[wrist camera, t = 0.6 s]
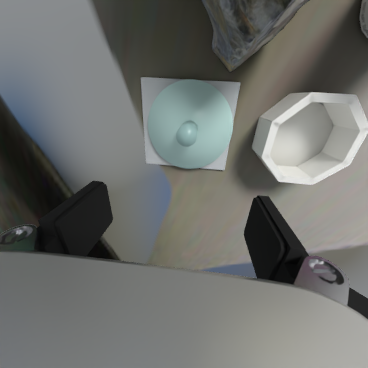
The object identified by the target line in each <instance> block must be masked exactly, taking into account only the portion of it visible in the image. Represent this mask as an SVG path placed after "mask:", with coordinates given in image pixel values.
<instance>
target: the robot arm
mask: <svg viewBox="0 0 368 368" xmlns="http://www.w3.org/2000/svg"><path fill="white" fill-rule="evenodd" d="M112 220H113V217H112V212H111V206H110V201H109V196H108V191H107V186H106V184H104V183H103V182H99V181H92V182H91V183H89V184H88V185H87V186H85V187H84V188H83V189H81V190H80V191H78V192H77V193H76V194H74V195H73V196H71V197H70V198H69V199H67V200H66V201H64V202H63V203H62V204H60V205H59V206H57V207H56V208H55V209H53V210H52V211H51V212H49V213H48V214H46V215H45V216H44V217H42V218H41V219H39V220H38V222H39V224H40V226H39V227H38V228H37V227H36V226H35V225H31V224H26V225H20V226H17V227H14V228H11V229H9V230H7V231H5V232H3V233H2V234H0V368H368V298H366V297H364V296H363V295H361V294H359V293H358V292H356V291H355V290H353V289H351V288H350V287H349V285H350V284H349V279H348V277H347V276H346V274H345V273H344V272H343V271H342V270H341V269H340V268H339V267H337V266H336V265H335V264H333V263H332V262H330V261H329V260H326V259H324V258H322V257H318V256H309V255H308V253H307V252H306V250H305V248H304V247H303V245H302V244H301V242H300V241H299V240H298V238H297V237H296V235H295V234H294V232H293V231H292V229H291V228H290V227H289V225H288V224H287V222H286V221H285V219H284V218H283V217H282V215H281V214H280V212H279V211H278V209H277V208H276V207H275V205H274V204H273V202H272V201H271V199H270V198H269V197H268V196H257V197H256V198H254V199H253V202H252V205H251V209H250V212H249V216H248V220H247V223H246V227H245V230H244V237H245V241H246V244H247V247H248V250H249V254H250V257H251V260H252V263H253V266H254V270H255V273H256V276H257V278H251V277H244V276H237V275H230V274H222V273H215V272H207V271H199V270H191V269H183V268H175V267H167V266H159V265H151V264H142V263H134V262H126V261H118V260H110V259H101V258H92V257H86V256H87V255H88V253H89V252H90V251H91V249H92V248H93V247H94V245H95V244H96V243H97V241H98V240H99V239H100V237H101V236H102V235H103V233H104V232H105V231H106V229H107V228H108V227H109V225H110V224H111V223H112Z"/></svg>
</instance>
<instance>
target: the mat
mask: <svg viewBox="0 0 368 368" xmlns="http://www.w3.org/2000/svg"><path fill="white" fill-rule="evenodd" d="M181 80H186V79H168V78H150V77H141V90H142V107H143V123H144V139H145V156H146V163H148V164H160V165H171V166H175V165H172V164H171V163H169V162H167V161H166V160H165V159H163V158H162V157H161V156H160V155H159V153H158V152H157V151H156V149H155V148H154V146H153V144H152V142H151V139H150V136H149V131H148V117H149V112H150V109H151V106H152V104H153V102H154V100H155V99H156V97H157V96H158V95H159V93H160V92H161V91H162V90H163V89H165V88H166V87H167V86H169V85H171V84H173V83H175V82H178V81H181ZM200 81H204V82H206V83H208V84H211V85H212V86H214V87H215V88H216V89H217V90H219V91H220V92H221V93H222V95H223V96H224V97H225V99H226V100H227V102H228V104H229V106H230V109H231V112H232V118H233V121H234V115H235V110H236V105H237V99H238V94H239V88H240V83H241V82H225V81H206V80H200ZM229 143H230V142H229ZM228 148H229V144H228V146H227V148H226V149H225V151H224V152H223V153H222V154H221V155H220V157H218V158H217V159H216V160H215V161H213V162H212V163H210V164H208V165H206V166H203V167H200V168H204V169H216V170H225V164H226V159H227V153H228Z"/></svg>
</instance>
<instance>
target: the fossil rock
mask: <svg viewBox="0 0 368 368" xmlns="http://www.w3.org/2000/svg"><path fill="white" fill-rule="evenodd" d="M308 1H309V0H202V2H203V4H204V6H205V8H206V10H207V12H208V15H209V18H210V20H211V23H212V26H213V31H214V33H213V41H212V49H213V51H214V52H215V54H216V55H217V56H218V57H219V58H220V60H221V61H222V63H223V64H224V65H225V66H226V67H227V69H228V71H229V72H232V71H233V70H235V69H236V68H237V67H238V66H240V65H241V64H242V63H243V62H245V61H246V60H247V59H248V58H249V57H250V56H251V55H252V54H254V53H256V52H257V51H258V50H259V49H260V48H261V47H262V46H263V45H266V44H267V43H268V42H269V41H271V40H272V39H273V38H274V37H275V36H276V35H277V34H278V33H279V32H280V31H281V30H282V29H283V28H284V27H285V26H286V24H287V23H288V22H289V21H290V20H291V19H292V18H293V17H294V15H295V14H296V13H297V11H298V10H299V9H300V8H301V7H302V6H303V5H304V4H305V3H307V2H308Z"/></svg>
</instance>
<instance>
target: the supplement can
mask: <svg viewBox="0 0 368 368" xmlns="http://www.w3.org/2000/svg"><path fill="white" fill-rule="evenodd" d="M359 19H360V24H361V30H362V32H363V33H364V34H365V35H366V37H367V38H368V0H362V5H361V11H360V17H359Z"/></svg>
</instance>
